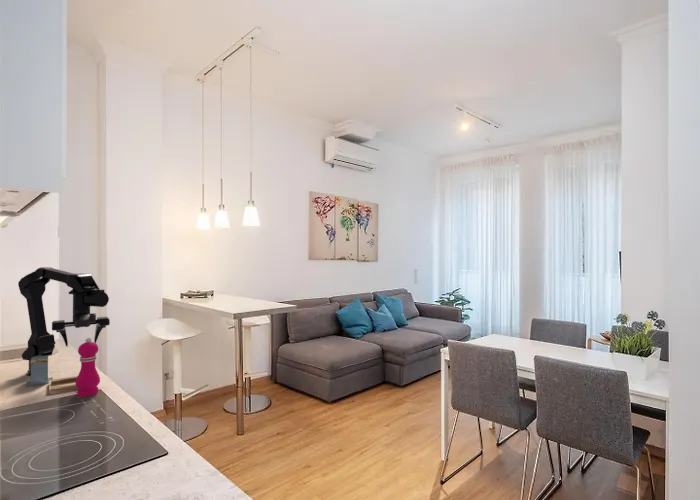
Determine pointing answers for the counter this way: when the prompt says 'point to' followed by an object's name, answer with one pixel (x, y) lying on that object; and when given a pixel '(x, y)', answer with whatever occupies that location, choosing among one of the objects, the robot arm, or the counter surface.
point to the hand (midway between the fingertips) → (81, 344)
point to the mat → (28, 384)
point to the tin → (39, 370)
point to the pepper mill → (87, 369)
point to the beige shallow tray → (62, 385)
